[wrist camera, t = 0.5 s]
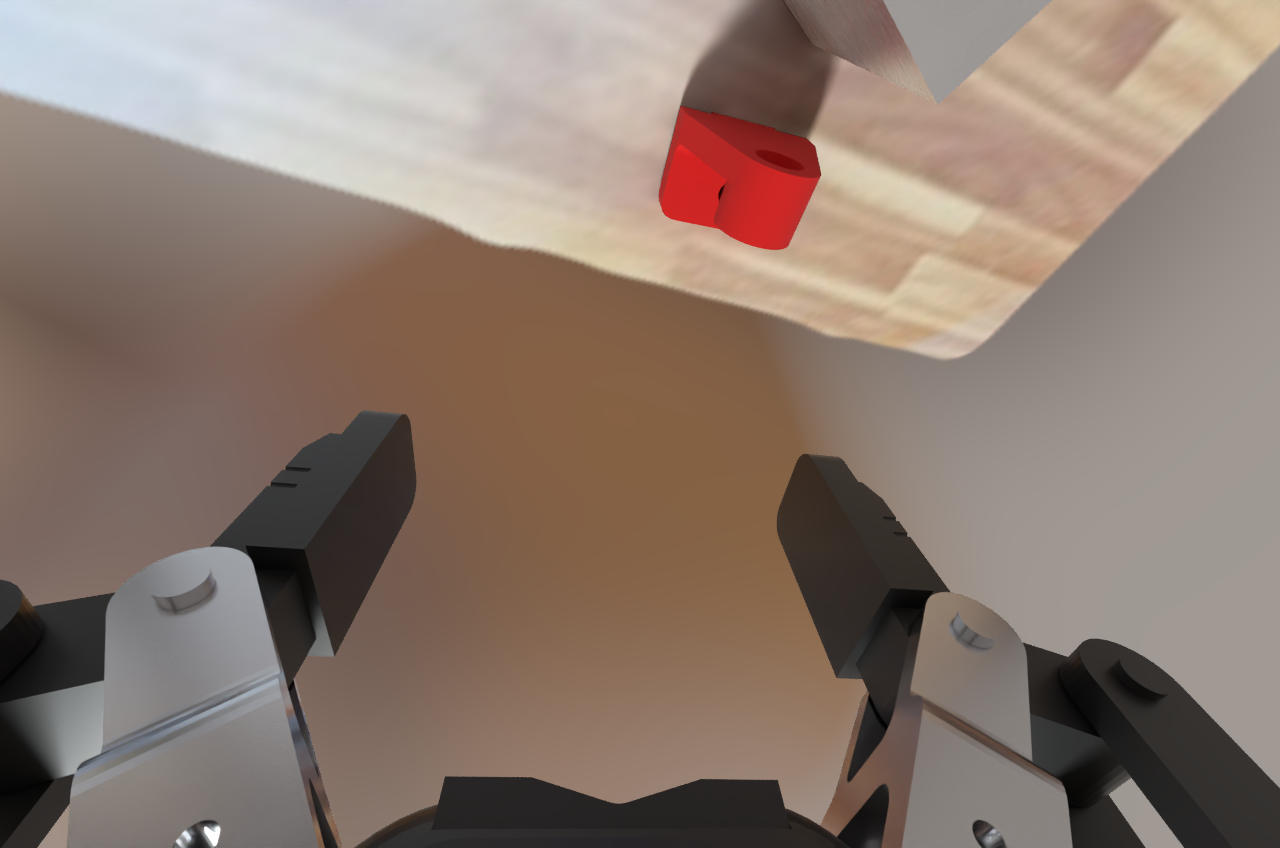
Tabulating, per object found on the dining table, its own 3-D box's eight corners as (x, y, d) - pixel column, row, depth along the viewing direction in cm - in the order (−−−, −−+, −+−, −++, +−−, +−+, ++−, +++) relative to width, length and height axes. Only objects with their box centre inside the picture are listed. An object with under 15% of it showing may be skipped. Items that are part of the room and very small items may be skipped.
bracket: (653, 203, 35) (676, 273, 28) (679, 103, 31) (713, 156, 24) (765, 226, 37) (812, 297, 30) (803, 135, 33) (868, 192, 26)
